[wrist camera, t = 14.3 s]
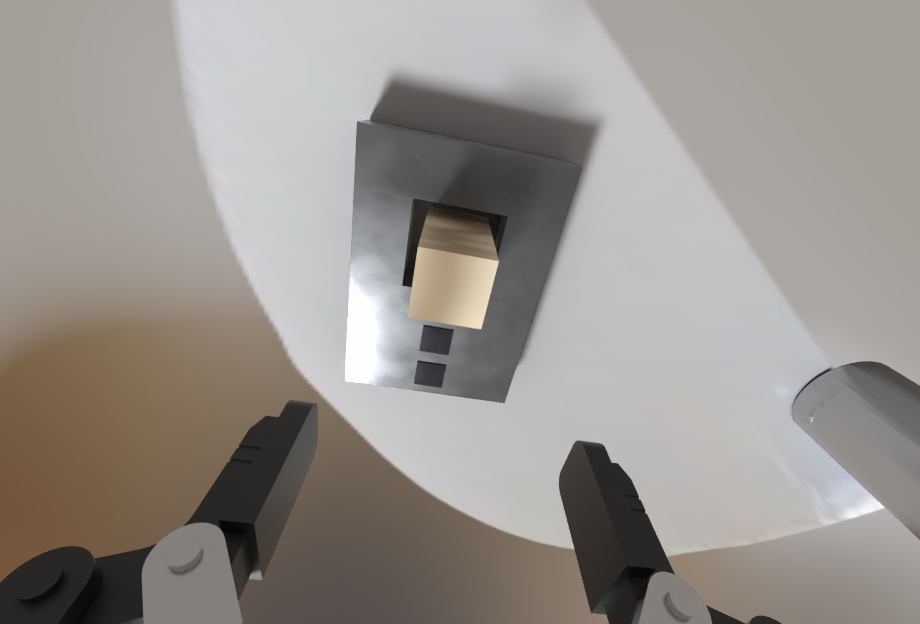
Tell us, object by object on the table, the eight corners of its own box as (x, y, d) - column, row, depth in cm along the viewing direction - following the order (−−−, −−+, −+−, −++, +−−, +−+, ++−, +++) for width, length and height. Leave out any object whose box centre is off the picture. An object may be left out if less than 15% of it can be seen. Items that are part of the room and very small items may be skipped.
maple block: (487, 217, 28) (498, 261, 20) (475, 270, 30) (481, 329, 22) (429, 205, 27) (417, 246, 19) (421, 260, 29) (407, 317, 22)
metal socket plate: (569, 161, 26) (582, 168, 23) (500, 381, 35) (504, 403, 33) (367, 119, 24) (356, 121, 22) (353, 359, 34) (344, 381, 31)
